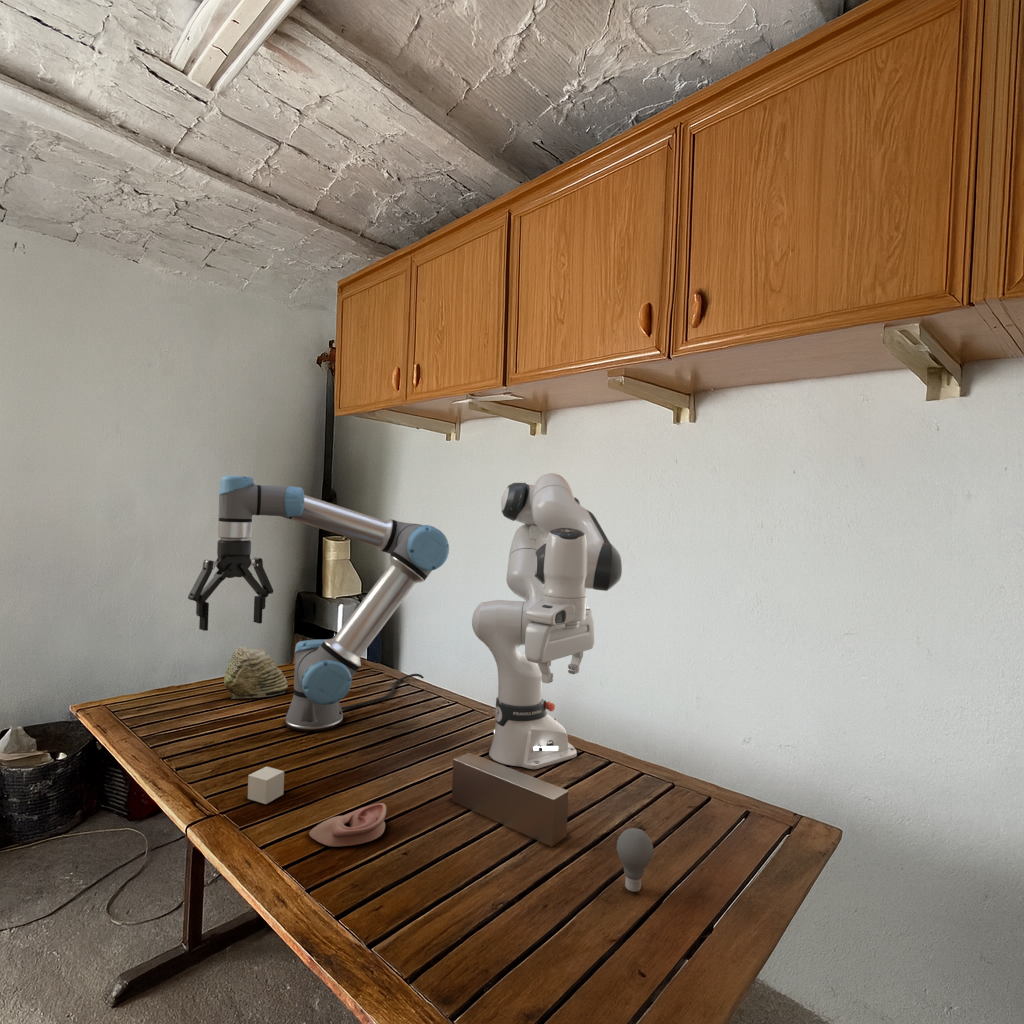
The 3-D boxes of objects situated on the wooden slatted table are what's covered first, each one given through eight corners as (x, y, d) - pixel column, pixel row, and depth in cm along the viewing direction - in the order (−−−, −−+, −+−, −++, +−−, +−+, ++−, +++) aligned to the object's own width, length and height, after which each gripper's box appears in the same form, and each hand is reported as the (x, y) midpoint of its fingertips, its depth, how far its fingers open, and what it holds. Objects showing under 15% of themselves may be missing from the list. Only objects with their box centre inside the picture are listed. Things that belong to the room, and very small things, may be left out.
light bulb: (610, 878, 109) (613, 821, 108) (645, 878, 109) (647, 821, 109) (619, 901, 103) (622, 840, 103) (655, 900, 103) (658, 839, 103)
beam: (467, 793, 138) (469, 752, 138) (566, 836, 122) (568, 790, 122) (451, 801, 134) (453, 759, 134) (551, 847, 118) (553, 799, 118)
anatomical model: (301, 820, 116) (331, 792, 127) (300, 842, 116) (330, 812, 127) (368, 831, 113) (393, 801, 124) (368, 853, 113) (392, 821, 124)
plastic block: (265, 789, 136) (266, 766, 136) (283, 794, 134) (284, 771, 134) (247, 798, 131) (248, 775, 131) (265, 804, 129) (266, 780, 129)
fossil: (219, 695, 195) (221, 647, 195) (279, 686, 207) (281, 640, 207) (229, 703, 188) (231, 653, 188) (290, 693, 201) (292, 646, 200)
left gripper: (273, 537, 166) (270, 617, 166) (174, 539, 147) (171, 630, 147) (289, 539, 161) (286, 622, 162) (189, 541, 142) (186, 635, 142)
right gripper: (578, 602, 137) (575, 665, 138) (520, 612, 121) (517, 684, 122) (603, 606, 133) (600, 671, 134) (547, 617, 117) (544, 691, 118)
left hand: (231, 626), depth 154 cm, fingers open, 13 cm apart
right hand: (560, 677), depth 128 cm, fingers open, 8 cm apart
